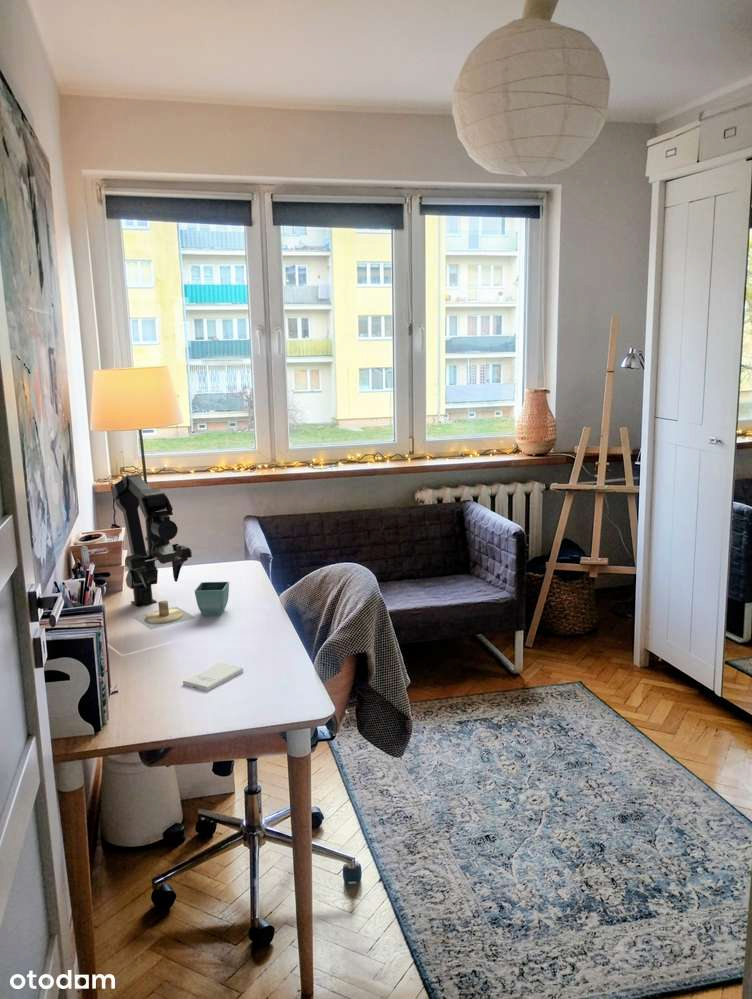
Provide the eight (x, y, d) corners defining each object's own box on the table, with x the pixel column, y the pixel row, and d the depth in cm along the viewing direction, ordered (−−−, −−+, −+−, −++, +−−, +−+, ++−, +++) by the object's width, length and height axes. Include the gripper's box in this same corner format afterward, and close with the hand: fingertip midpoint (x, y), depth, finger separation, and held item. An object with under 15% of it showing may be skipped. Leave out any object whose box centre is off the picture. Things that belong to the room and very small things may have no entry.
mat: (133, 618, 236) (133, 617, 236) (176, 607, 244) (176, 606, 244) (151, 630, 225) (151, 628, 225) (196, 618, 234) (196, 617, 234)
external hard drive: (243, 673, 193) (208, 693, 183) (219, 667, 197) (183, 686, 187) (243, 667, 193) (207, 686, 182) (218, 661, 197) (182, 679, 187)
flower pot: (225, 618, 233) (223, 589, 231) (196, 619, 233) (193, 590, 231) (231, 609, 241) (229, 581, 240) (203, 609, 242) (201, 582, 240)
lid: (140, 617, 236) (138, 602, 235) (174, 608, 242) (172, 594, 241) (154, 626, 227) (152, 610, 226) (189, 617, 234) (187, 602, 233)
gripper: (136, 544, 218) (141, 597, 221) (197, 533, 229) (201, 583, 232) (121, 537, 227) (127, 589, 230) (181, 527, 238) (186, 576, 241)
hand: (161, 584), depth 233 cm, fingers open, 9 cm apart
